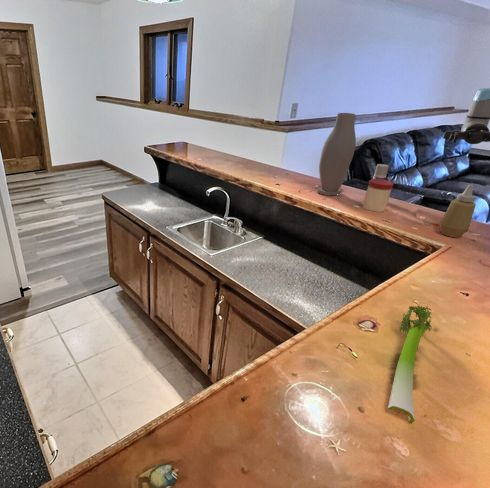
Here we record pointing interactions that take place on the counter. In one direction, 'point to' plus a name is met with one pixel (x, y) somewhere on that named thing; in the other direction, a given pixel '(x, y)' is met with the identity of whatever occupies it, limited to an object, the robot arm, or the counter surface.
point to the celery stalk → (408, 361)
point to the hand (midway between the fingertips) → (480, 141)
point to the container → (381, 171)
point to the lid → (380, 184)
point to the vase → (337, 154)
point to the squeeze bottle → (458, 214)
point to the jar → (376, 199)
